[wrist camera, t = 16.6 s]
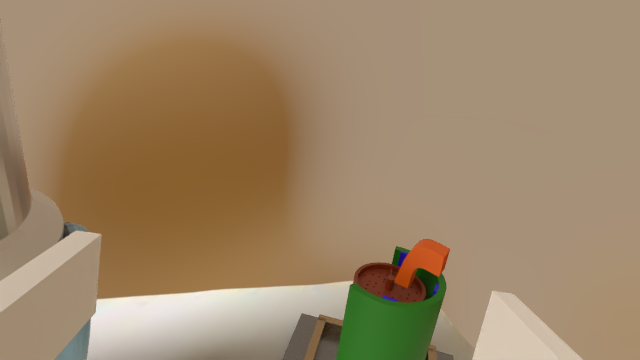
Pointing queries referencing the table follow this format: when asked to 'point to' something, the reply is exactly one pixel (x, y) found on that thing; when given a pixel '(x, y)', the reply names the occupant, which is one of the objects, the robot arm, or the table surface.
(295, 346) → the plate
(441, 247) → the green cylindrical holder
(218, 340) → the table surface
